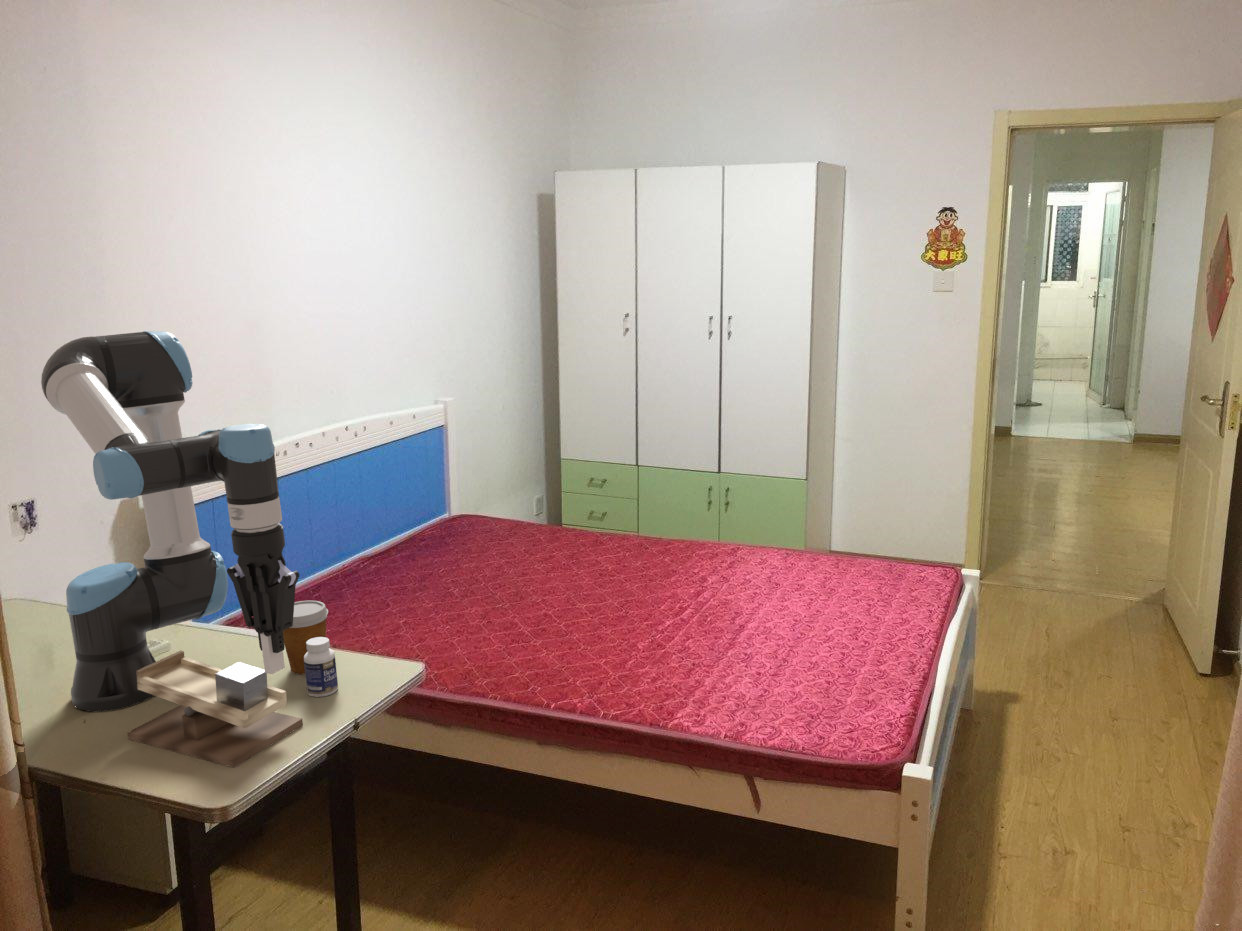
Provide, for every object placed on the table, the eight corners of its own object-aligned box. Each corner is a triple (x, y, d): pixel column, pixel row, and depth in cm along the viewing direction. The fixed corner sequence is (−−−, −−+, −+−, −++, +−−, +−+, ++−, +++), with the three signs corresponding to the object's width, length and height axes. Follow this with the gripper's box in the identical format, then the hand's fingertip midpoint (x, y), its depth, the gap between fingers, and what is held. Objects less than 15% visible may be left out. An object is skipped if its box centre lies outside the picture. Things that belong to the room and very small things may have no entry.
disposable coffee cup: (334, 673, 190) (328, 613, 188) (281, 681, 188) (274, 620, 185) (333, 654, 199) (327, 596, 197) (282, 661, 197) (275, 603, 194)
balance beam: (135, 696, 169) (133, 672, 167) (184, 672, 177) (183, 649, 176) (242, 736, 159) (241, 710, 158) (288, 708, 167) (288, 684, 166)
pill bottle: (329, 698, 180) (324, 647, 178) (302, 697, 181) (296, 646, 179) (343, 685, 185) (338, 635, 183) (316, 684, 186) (311, 634, 184)
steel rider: (216, 701, 164) (215, 673, 162) (240, 689, 168) (239, 661, 167) (244, 711, 161) (243, 683, 160) (267, 698, 165) (266, 670, 164)
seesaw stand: (128, 739, 168) (124, 711, 167) (200, 701, 181) (197, 675, 180) (234, 767, 157) (230, 738, 156) (302, 725, 170) (299, 697, 169)
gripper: (206, 529, 154) (226, 673, 159) (270, 536, 148) (288, 686, 153) (244, 516, 160) (262, 655, 165) (306, 523, 155) (323, 667, 160)
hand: (275, 670), depth 159 cm, fingers closed
